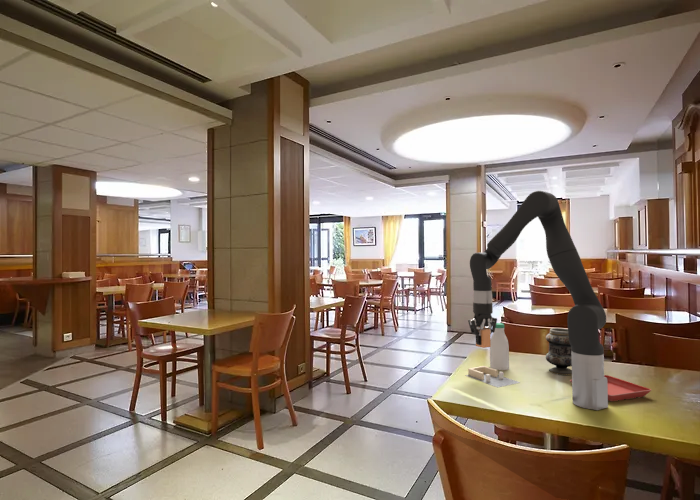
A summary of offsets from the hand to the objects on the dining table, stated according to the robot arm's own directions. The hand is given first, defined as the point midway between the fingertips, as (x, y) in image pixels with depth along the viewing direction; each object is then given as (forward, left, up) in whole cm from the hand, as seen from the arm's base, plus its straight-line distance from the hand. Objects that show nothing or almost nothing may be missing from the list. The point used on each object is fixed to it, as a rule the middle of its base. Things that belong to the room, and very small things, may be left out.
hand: (483, 343), depth 160 cm
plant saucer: (-33, -27, -15) cm, 45 cm away
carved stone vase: (-9, -35, -14) cm, 39 cm away
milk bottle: (+6, -15, -14) cm, 21 cm away
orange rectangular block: (0, 0, -1) cm, 1 cm away
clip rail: (-4, 0, -14) cm, 15 cm away
